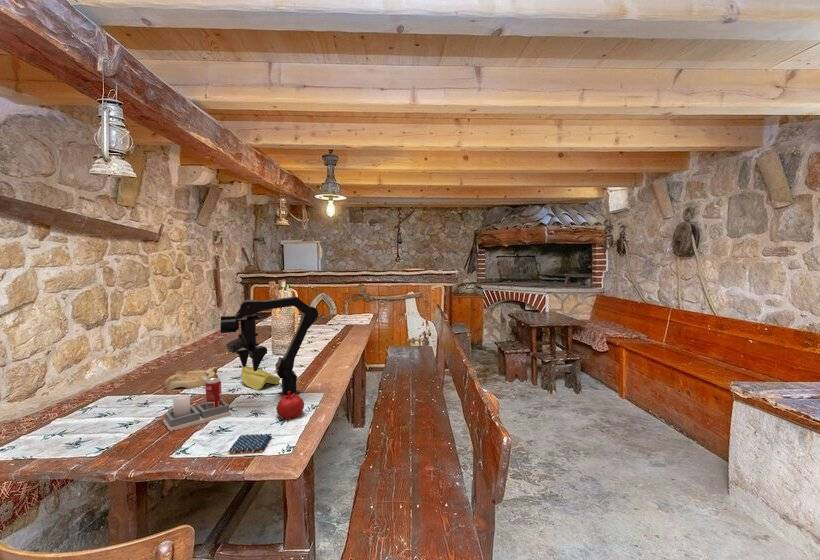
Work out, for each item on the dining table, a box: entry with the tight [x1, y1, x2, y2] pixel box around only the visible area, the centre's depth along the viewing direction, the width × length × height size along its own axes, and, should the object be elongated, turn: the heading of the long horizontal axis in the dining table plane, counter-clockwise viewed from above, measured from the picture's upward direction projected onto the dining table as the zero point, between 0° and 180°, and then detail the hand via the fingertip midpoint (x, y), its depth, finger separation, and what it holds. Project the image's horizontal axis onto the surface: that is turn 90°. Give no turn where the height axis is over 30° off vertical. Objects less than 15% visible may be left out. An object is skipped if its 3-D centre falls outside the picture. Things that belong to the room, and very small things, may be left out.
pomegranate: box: [276, 391, 305, 420], centre depth 147 cm, size 10×10×9 cm
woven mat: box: [228, 433, 273, 455], centre depth 124 cm, size 10×11×2 cm
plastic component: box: [241, 365, 281, 391], centre depth 184 cm, size 20×7×10 cm
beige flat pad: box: [163, 367, 219, 390], centre depth 187 cm, size 24×24×5 cm
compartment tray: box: [163, 394, 232, 432], centre depth 144 cm, size 20×10×9 cm, turn 133°
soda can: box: [204, 377, 223, 410], centre depth 148 cm, size 5×5×12 cm
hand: (249, 368), depth 162 cm, fingers open, 9 cm apart
